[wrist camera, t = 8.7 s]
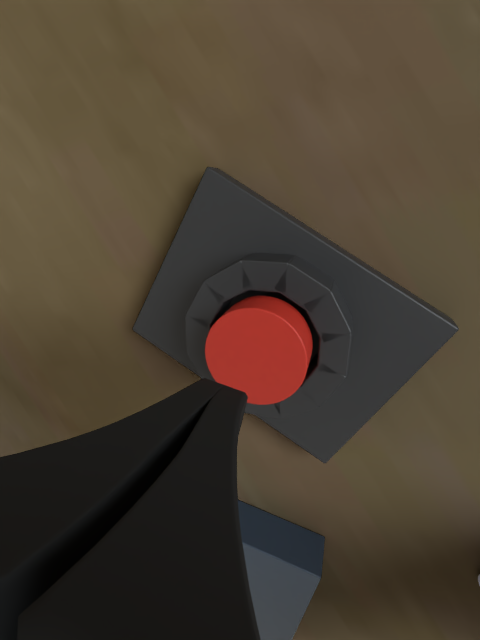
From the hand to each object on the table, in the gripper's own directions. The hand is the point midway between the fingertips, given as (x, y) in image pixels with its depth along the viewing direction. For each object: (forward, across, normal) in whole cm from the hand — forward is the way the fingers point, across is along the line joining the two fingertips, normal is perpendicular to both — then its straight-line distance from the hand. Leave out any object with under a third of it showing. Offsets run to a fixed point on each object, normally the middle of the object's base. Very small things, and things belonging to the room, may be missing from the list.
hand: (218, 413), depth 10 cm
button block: (+8, 0, 0) cm, 8 cm away
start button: (+5, 0, 0) cm, 5 cm away
